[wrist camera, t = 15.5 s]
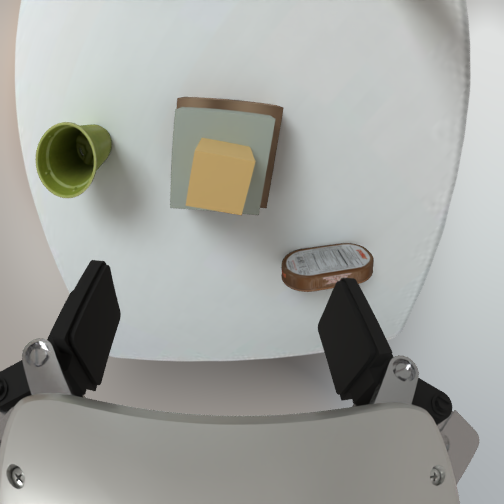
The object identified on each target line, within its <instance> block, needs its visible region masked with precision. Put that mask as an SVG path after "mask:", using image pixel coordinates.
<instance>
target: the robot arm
mask: <svg viewBox="0 0 504 504" xmlns="http://www.w3.org/2000/svg"><path fill="white" fill-rule="evenodd" d="M119 321H120V309H119V305H118V301H117V297H116V293H115V289H114V284H113V280H112V275H111V270H110V267H109V265H106V263H105V262H104V261H96V260H92V261H91V262H90V263H89V265H88V266H87V268H86V270H85V271H84V273H83V275H82V277H81V278H80V280H79V282H78V284H77V285H76V287H75V289H74V290H73V291H72V292H71V293H70V295H69V297H68V299H67V301H66V303H65V304H64V306H63V308H62V310H61V312H60V314H59V316H58V318H57V320H56V322H55V324H54V326H53V328H52V330H51V333H50V335H49V337H48V339H47V340H45V339H40V338H39V339H35V340H32V341H31V342H29V343H28V344H27V345H26V346H25V348H24V350H23V353H22V360H21V361H19V362H18V363H16V364H14V365H12V366H10V367H8V368H6V369H5V370H3V371H1V372H0V504H460V501H459V496H458V491H457V487H456V485H457V483H458V481H459V480H460V478H461V477H462V475H463V473H464V472H465V470H466V468H467V466H468V465H469V463H470V461H471V459H472V457H473V456H474V454H475V452H476V450H477V448H478V445H479V436H478V434H477V432H476V431H475V430H474V429H473V428H472V427H471V426H470V425H469V424H468V423H467V421H466V420H465V419H464V418H463V417H462V416H461V415H460V414H459V413H458V412H457V411H456V410H454V411H452V403H451V400H450V398H449V397H448V396H447V395H446V394H445V393H444V392H442V391H440V390H438V389H437V388H435V387H433V386H431V385H430V384H428V383H426V382H425V381H423V380H421V379H420V378H418V375H419V372H418V368H417V366H416V365H415V363H414V362H413V361H412V360H411V359H409V358H408V357H405V356H395V357H393V355H392V351H391V349H390V346H389V344H388V342H387V340H386V338H385V336H384V334H383V332H382V329H381V327H380V325H379V323H378V321H377V319H376V317H375V315H374V313H373V311H372V309H371V307H370V305H369V303H368V302H367V300H366V298H365V296H364V294H363V292H362V290H361V288H360V286H359V284H358V283H357V281H356V279H354V278H341V279H340V281H337V282H336V284H335V287H334V289H333V291H332V294H331V296H330V298H329V301H328V303H327V305H326V308H325V310H324V312H323V314H322V317H321V319H320V321H319V324H318V332H319V335H320V338H321V342H322V345H323V348H324V352H325V355H326V358H327V361H328V365H329V369H330V372H331V375H332V379H333V383H334V385H335V389H336V393H337V394H340V397H341V400H348V399H353V403H354V404H353V406H352V407H350V408H343V409H335V410H328V411H319V412H310V413H300V414H287V415H267V416H213V415H212V416H211V415H195V414H182V413H172V412H163V411H155V410H147V409H141V408H134V407H128V406H123V405H117V404H112V403H107V402H102V401H97V400H92V399H88V398H85V396H84V394H85V392H86V389H88V390H93V391H96V388H97V385H100V384H101V381H102V378H103V374H104V370H105V367H106V363H107V359H108V356H109V353H110V349H111V346H112V343H113V340H114V336H115V333H116V330H117V327H118V324H119Z"/></svg>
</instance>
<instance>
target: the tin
mask: <svg viewBox="0 0 504 504" xmlns="http://www.w3.org/2000/svg"><path fill="white" fill-rule="evenodd" d="M373 261H374V260H373V256H372V254H371V253H370V252H369V251H368V250H367V249H366V248H364V247H362V246H360V245H356V244H350V243H343V244H335V245H327V246H320V247H313V248H306V249H299V250H296V251H293V252H291V253H289V254H288V255H286V256H285V258H284V259H283V261H282V280H283V282H284V283H285V284H286V285H287V286H288V287H290V288H291V289H294V290H297V291H303V292H312V291H319V290H325V289H330V288H334V287H335V284H336V282H337V281H340V279H341V278H354V279H356V281H357V283H358V284H359V283H363V282H365V281H367V280H368V279H369V278H370V277H371V276H372V273H373Z"/></svg>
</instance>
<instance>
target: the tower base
mask: <svg viewBox="0 0 504 504" xmlns="http://www.w3.org/2000/svg"><path fill="white" fill-rule="evenodd" d="M180 107H195V108H210V109H222V110H233V111H241V112H250V113H257V114H264V115H270V116H272V117H273V118H275V125H274V130H273V136H272V142H271V148H270V153H269V159H268V165H267V170H266V176H265V182H264V187H263V193H262V199H261V204H260V208H267V202H268V196H269V190H270V185H271V179H272V173H273V167H274V161H275V155H276V149H277V143H278V137H279V131H280V125H281V119H282V113H283V107H280V106H277V105H271V104H264V103H257V102H249V101H239V100H229V99H216V98H199V97H181V98H177V109H178V108H180Z"/></svg>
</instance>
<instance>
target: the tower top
mask: <svg viewBox="0 0 504 504" xmlns="http://www.w3.org/2000/svg"><path fill="white" fill-rule="evenodd" d="M274 125H275V118H273V117H272V116H270V115H264V114H257V113H250V112H241V111H233V110H222V109H210V108H195V107H180V108H178V109H175V119H174V131H173V146H172V164H171V194H170V208H179V209H193V210H206V211H214V210H208V209H202V208H196V207H190V206H186V199H187V193H188V186H189V180H190V174H191V168H192V163H193V157H194V152H195V149H196V147H197V145H198V143H199V142H200V140H201V138H207V139H213V140H219V141H224V142H229V143H234V144H239V145H244V146H249V147H250V148H251V150H252V153H253V156H254V159H255V166H254V170H253V173H252V177H251V181H250V185H249V189H248V193H247V196H246V200H245V204H244V208H243V212H242V214H251V215H259V210H260V204H261V199H262V193H263V187H264V182H265V176H266V170H267V165H268V159H269V153H270V148H271V142H272V136H273V130H274ZM218 212H220V211H218Z"/></svg>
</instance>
